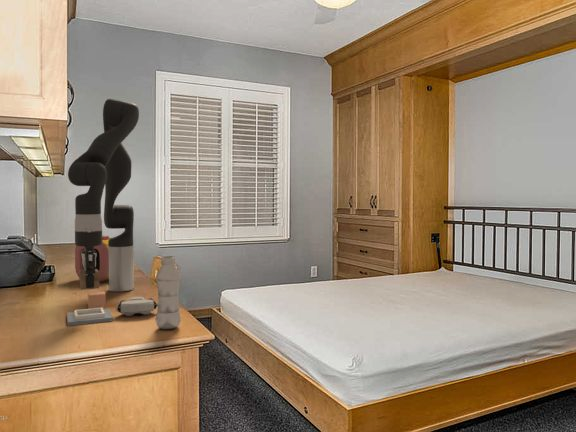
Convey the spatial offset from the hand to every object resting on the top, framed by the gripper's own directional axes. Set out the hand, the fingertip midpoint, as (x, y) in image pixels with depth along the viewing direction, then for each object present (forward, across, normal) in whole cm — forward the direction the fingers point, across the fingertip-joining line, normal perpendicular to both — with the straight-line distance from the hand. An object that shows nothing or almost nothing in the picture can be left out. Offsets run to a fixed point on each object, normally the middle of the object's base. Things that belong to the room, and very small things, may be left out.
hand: (89, 285), depth 139 cm
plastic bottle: (+10, +21, +19) cm, 30 cm away
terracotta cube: (+10, -13, +3) cm, 17 cm away
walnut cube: (0, 0, 0) cm, 0 cm away
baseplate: (+10, 0, 0) cm, 10 cm away
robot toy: (+10, -2, +14) cm, 17 cm away
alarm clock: (+10, -68, +8) cm, 69 cm away
